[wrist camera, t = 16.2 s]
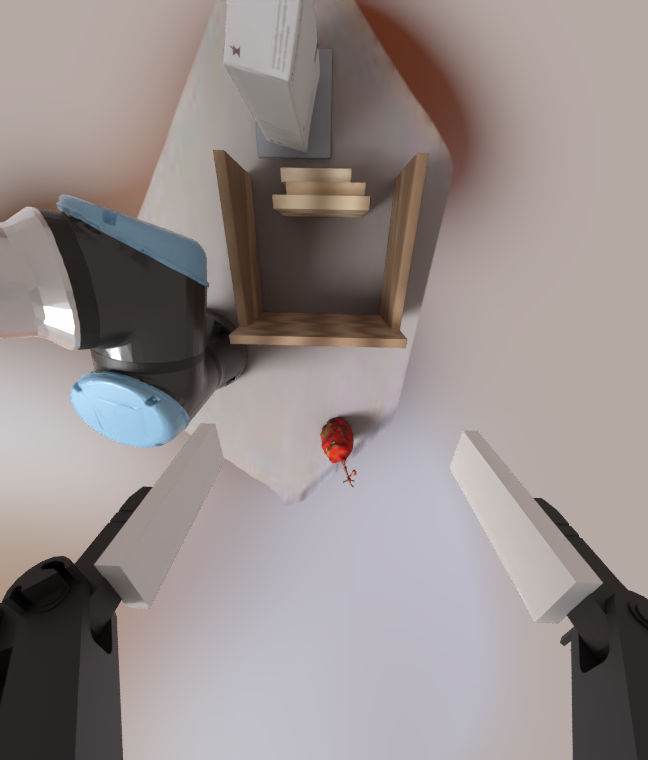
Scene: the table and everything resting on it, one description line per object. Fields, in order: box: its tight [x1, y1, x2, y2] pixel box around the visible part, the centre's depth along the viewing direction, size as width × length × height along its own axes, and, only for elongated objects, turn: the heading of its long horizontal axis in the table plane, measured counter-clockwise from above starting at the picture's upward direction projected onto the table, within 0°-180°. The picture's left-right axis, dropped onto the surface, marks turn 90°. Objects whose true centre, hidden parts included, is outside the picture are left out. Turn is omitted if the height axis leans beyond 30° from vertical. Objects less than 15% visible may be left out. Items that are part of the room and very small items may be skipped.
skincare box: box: [223, 0, 320, 153], centre depth 25 cm, size 8×6×15 cm
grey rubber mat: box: [255, 48, 333, 159], centre depth 32 cm, size 10×10×1 cm
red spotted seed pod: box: [321, 418, 356, 487], centre depth 50 cm, size 8×7×15 cm
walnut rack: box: [213, 150, 429, 348], centre depth 34 cm, size 23×21×14 cm
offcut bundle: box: [272, 168, 370, 217], centre depth 33 cm, size 12×5×8 cm, turn 89°
